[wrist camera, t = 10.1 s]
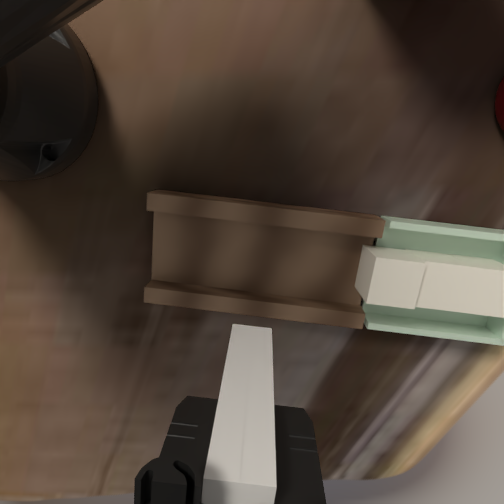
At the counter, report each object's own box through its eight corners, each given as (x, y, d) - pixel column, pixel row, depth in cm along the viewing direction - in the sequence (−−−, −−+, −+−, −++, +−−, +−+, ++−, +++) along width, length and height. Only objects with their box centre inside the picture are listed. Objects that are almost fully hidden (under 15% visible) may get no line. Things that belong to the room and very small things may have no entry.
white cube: (395, 289, 33) (412, 306, 30) (405, 248, 32) (423, 260, 29) (437, 294, 33) (460, 312, 30) (448, 253, 32) (473, 266, 29)
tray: (359, 315, 35) (367, 328, 32) (380, 215, 32) (390, 221, 29) (487, 331, 35) (505, 345, 32) (519, 231, 32) (542, 238, 29)
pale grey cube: (354, 286, 33) (366, 303, 29) (362, 244, 32) (376, 257, 28) (397, 291, 33) (414, 309, 29) (407, 250, 32) (426, 263, 28)
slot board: (154, 290, 35) (143, 302, 32) (157, 189, 33) (147, 192, 30) (354, 314, 35) (362, 329, 32) (375, 214, 32) (385, 220, 29)
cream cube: (437, 294, 33) (459, 312, 30) (449, 253, 32) (473, 267, 29) (480, 299, 33) (507, 318, 30) (492, 259, 32) (523, 273, 28)
